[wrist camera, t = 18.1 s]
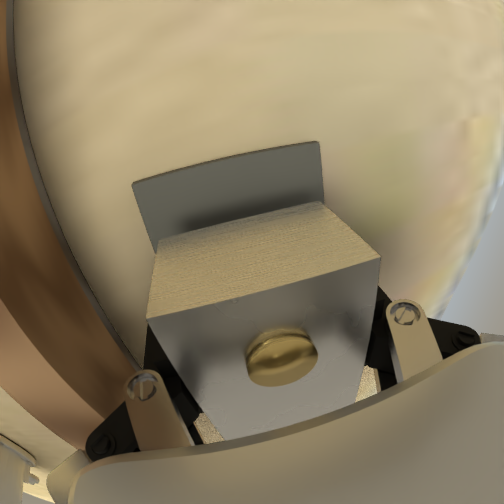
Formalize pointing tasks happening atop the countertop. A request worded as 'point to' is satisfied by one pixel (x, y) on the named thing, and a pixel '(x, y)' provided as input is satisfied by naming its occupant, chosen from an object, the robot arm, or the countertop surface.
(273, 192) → the mat
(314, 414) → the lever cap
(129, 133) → the countertop surface
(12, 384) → the plane body
